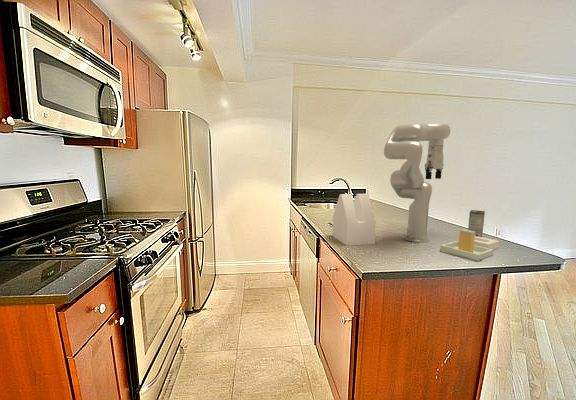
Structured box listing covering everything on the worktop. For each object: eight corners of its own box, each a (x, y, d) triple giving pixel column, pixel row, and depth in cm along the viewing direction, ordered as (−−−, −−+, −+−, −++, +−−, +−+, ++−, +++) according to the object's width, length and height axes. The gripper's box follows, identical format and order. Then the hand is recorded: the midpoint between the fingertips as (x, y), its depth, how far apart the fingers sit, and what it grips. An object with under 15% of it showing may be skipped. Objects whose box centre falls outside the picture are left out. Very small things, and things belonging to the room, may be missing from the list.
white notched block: (332, 236, 156) (333, 192, 152) (357, 234, 159) (358, 192, 156) (346, 245, 137) (348, 196, 134) (374, 244, 140) (376, 195, 137)
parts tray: (477, 261, 115) (478, 255, 115) (440, 251, 129) (440, 245, 128) (492, 256, 122) (493, 249, 122) (455, 246, 136) (456, 241, 136)
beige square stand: (487, 252, 127) (488, 244, 127) (462, 246, 137) (463, 238, 136) (498, 248, 133) (499, 240, 132) (473, 243, 142) (474, 235, 142)
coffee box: (468, 237, 153) (470, 209, 150) (482, 239, 149) (485, 210, 147) (466, 241, 145) (469, 211, 143) (481, 243, 142) (484, 213, 139)
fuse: (469, 254, 123) (471, 232, 121) (458, 250, 127) (460, 230, 126) (473, 252, 124) (475, 231, 123) (461, 249, 129) (463, 229, 127)
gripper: (433, 148, 149) (430, 179, 151) (450, 149, 158) (447, 178, 160) (420, 148, 155) (418, 179, 157) (437, 149, 164) (435, 178, 166)
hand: (433, 178), depth 159 cm, fingers open, 9 cm apart
